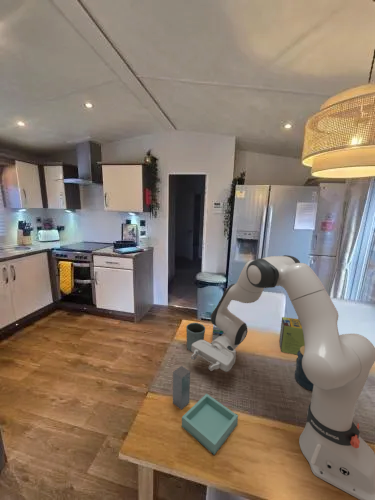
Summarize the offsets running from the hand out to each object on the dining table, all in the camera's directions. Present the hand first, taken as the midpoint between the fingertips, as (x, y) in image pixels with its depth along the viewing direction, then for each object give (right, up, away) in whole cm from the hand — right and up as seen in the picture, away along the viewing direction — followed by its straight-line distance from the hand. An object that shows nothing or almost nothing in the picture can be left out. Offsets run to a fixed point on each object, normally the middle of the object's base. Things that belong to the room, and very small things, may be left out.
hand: (200, 363), depth 99 cm
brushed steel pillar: (-8, -12, -7) cm, 16 cm away
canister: (+49, -11, +6) cm, 51 cm away
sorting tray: (+2, -14, -16) cm, 22 cm away
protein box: (+53, -7, +29) cm, 61 cm away
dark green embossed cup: (-1, -5, +28) cm, 29 cm away
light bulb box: (+12, -4, +36) cm, 38 cm away
